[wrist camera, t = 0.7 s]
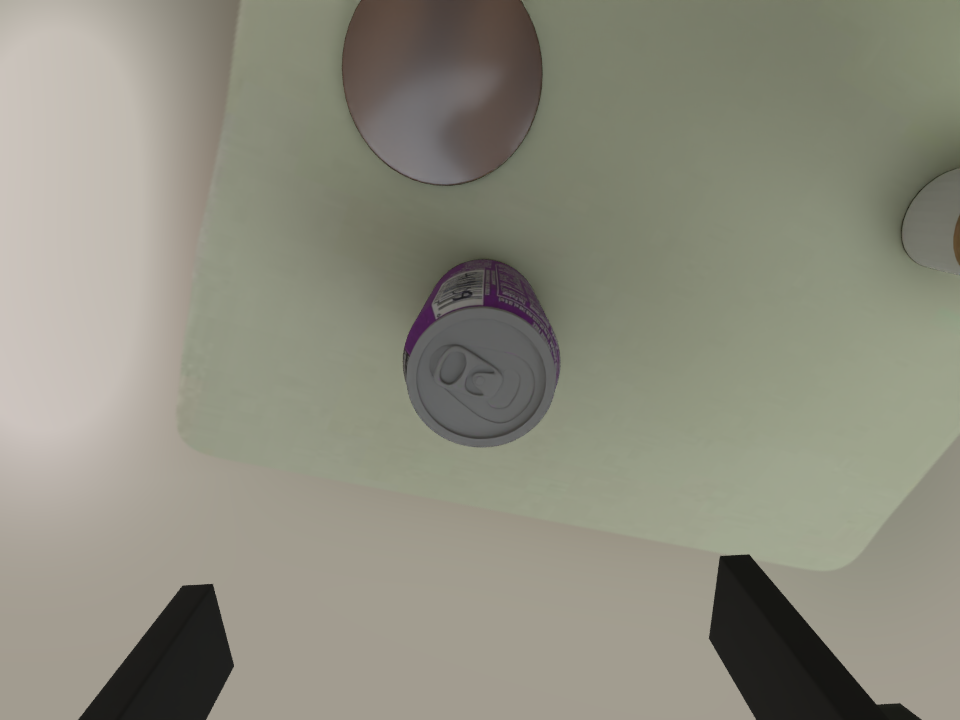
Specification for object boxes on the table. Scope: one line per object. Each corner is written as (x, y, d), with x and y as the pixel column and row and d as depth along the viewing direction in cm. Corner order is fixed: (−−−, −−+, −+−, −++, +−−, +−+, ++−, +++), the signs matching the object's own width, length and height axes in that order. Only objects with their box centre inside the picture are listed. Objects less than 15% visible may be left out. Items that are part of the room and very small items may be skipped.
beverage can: (412, 335, 31) (368, 416, 19) (457, 238, 29) (438, 264, 17) (506, 380, 32) (516, 481, 20) (557, 288, 29) (601, 344, 18)
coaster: (526, -62, 24) (527, -68, 23) (552, 167, 27) (553, 166, 27) (321, -16, 24) (317, -21, 24) (372, 200, 28) (369, 200, 27)
